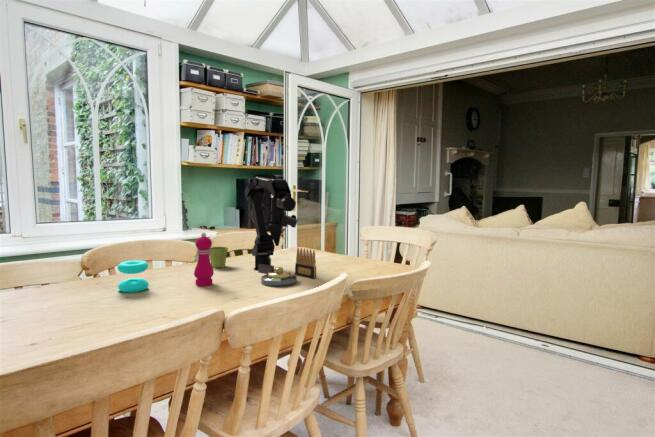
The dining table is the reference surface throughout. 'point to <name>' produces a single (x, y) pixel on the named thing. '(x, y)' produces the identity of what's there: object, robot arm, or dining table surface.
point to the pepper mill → (203, 262)
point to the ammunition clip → (305, 264)
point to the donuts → (133, 283)
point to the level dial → (271, 273)
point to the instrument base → (278, 281)
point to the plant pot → (218, 256)
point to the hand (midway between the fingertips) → (277, 245)
